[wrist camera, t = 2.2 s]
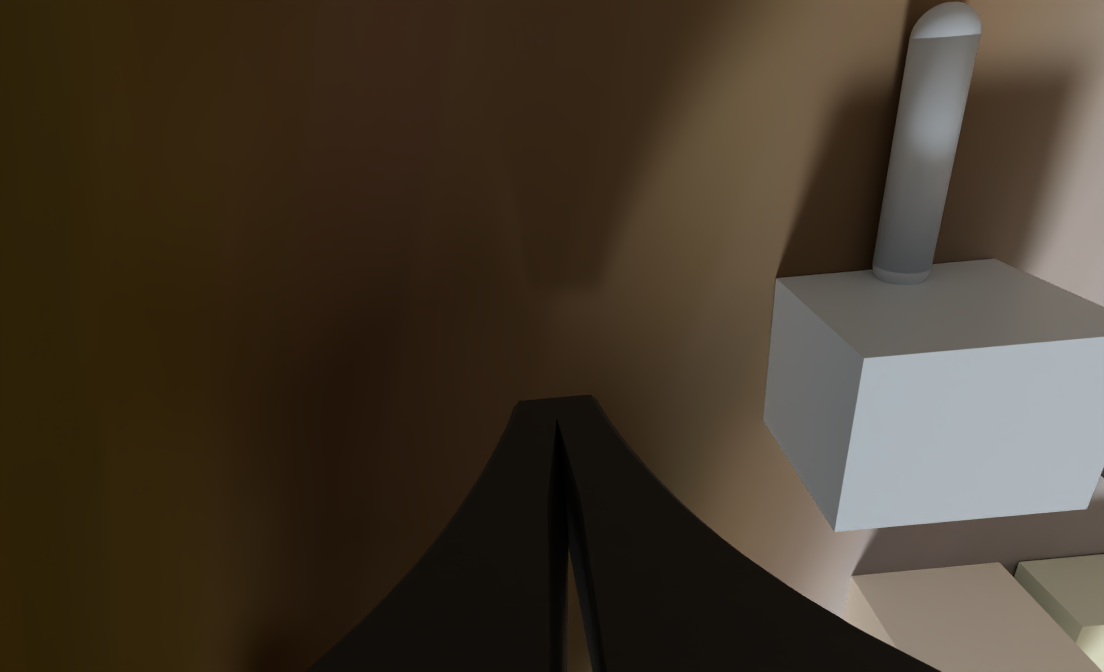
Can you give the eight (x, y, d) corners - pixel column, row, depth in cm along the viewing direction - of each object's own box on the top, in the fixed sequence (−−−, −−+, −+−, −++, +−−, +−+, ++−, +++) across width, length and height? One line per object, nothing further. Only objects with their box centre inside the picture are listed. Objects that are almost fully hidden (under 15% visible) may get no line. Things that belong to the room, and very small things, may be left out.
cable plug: (763, 420, 14) (834, 532, 11) (800, 15, 10) (925, -1, 7) (957, 403, 14) (1086, 508, 11) (1063, -9, 10) (1308, -35, 7)
